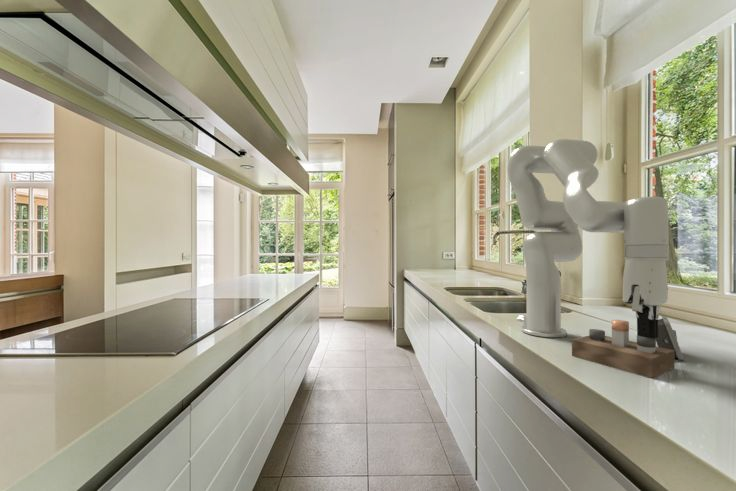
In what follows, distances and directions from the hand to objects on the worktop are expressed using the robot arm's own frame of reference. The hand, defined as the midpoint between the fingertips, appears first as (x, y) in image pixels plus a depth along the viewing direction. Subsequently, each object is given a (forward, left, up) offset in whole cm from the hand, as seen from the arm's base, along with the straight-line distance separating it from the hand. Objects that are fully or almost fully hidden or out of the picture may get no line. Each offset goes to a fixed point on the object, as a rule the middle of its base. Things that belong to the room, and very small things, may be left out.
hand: (647, 336), depth 73 cm
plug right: (0, 0, -6) cm, 6 cm away
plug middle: (-5, 0, -4) cm, 6 cm away
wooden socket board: (-5, 0, -7) cm, 9 cm away
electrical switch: (-2, +16, -7) cm, 18 cm away
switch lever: (-10, 0, -7) cm, 12 cm away
